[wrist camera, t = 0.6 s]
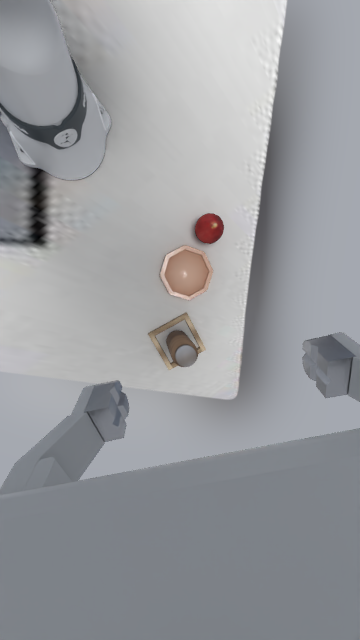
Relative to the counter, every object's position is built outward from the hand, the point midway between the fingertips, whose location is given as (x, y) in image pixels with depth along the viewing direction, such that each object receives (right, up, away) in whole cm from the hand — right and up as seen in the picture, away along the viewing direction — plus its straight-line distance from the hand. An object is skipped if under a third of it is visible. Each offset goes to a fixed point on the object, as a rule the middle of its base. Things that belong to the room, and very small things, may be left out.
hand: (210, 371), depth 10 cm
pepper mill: (-2, -3, +45) cm, 46 cm away
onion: (+4, +22, +42) cm, 48 cm away
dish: (0, +13, +43) cm, 45 cm away
